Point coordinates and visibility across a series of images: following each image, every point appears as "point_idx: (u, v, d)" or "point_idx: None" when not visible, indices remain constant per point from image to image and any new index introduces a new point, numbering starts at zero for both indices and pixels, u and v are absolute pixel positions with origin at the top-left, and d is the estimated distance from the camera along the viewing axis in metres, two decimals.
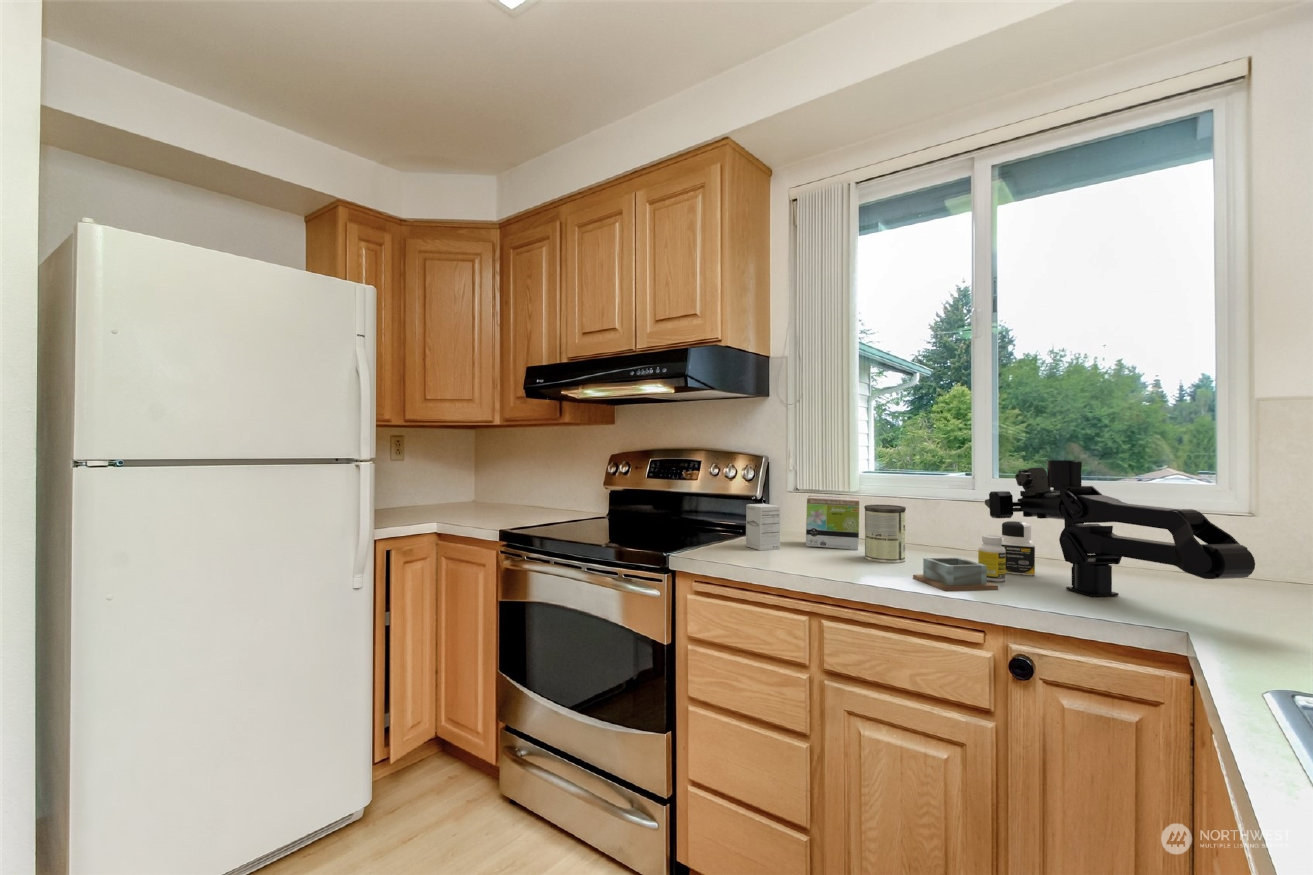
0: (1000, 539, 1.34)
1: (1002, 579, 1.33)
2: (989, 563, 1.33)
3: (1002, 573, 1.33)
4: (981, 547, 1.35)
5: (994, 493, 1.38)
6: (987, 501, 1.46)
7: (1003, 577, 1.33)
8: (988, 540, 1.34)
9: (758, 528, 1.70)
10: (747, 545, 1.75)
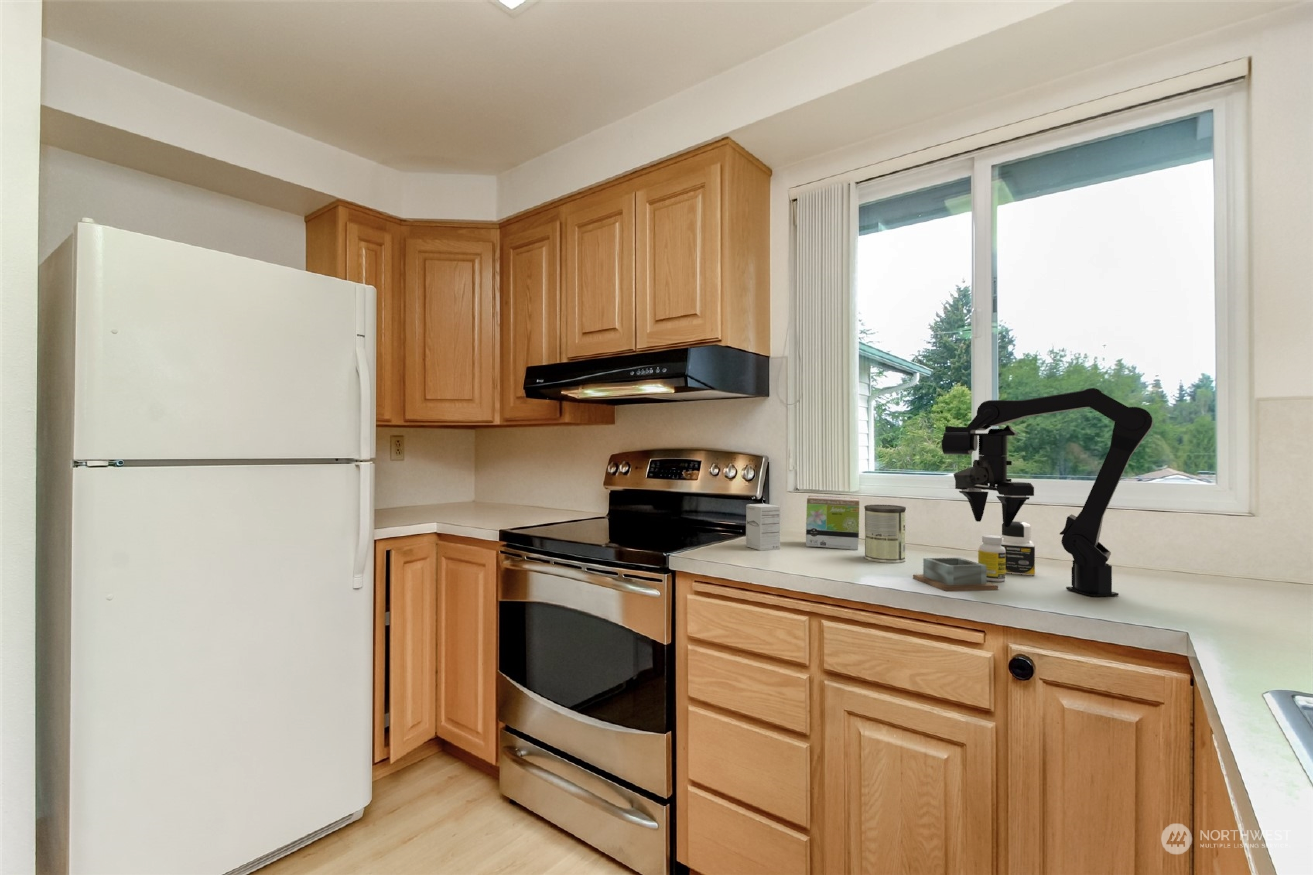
0: (1000, 539, 1.34)
1: (1002, 579, 1.33)
2: (989, 563, 1.33)
3: (1002, 573, 1.33)
4: (981, 547, 1.35)
5: (1010, 488, 1.26)
6: (1007, 520, 1.30)
7: (1003, 577, 1.33)
8: (988, 540, 1.34)
9: (758, 528, 1.70)
10: (747, 545, 1.75)
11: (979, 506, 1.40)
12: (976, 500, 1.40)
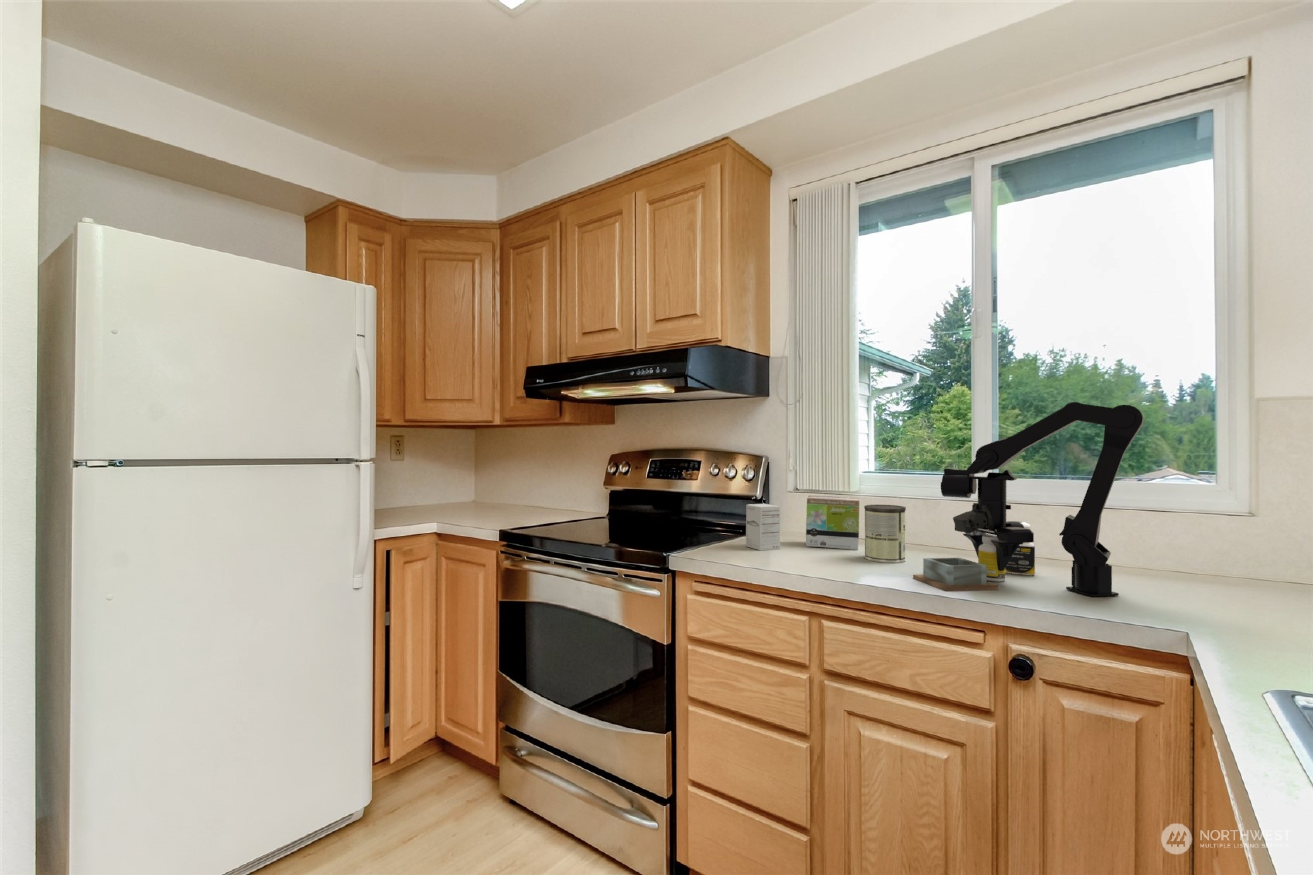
0: None
1: (1002, 579, 1.33)
2: (989, 563, 1.33)
3: (1002, 573, 1.33)
4: (981, 547, 1.35)
5: (1010, 535, 1.26)
6: (1001, 564, 1.32)
7: (1003, 577, 1.33)
8: (988, 540, 1.34)
9: (758, 528, 1.70)
10: (747, 545, 1.75)
11: None
12: (981, 544, 1.38)
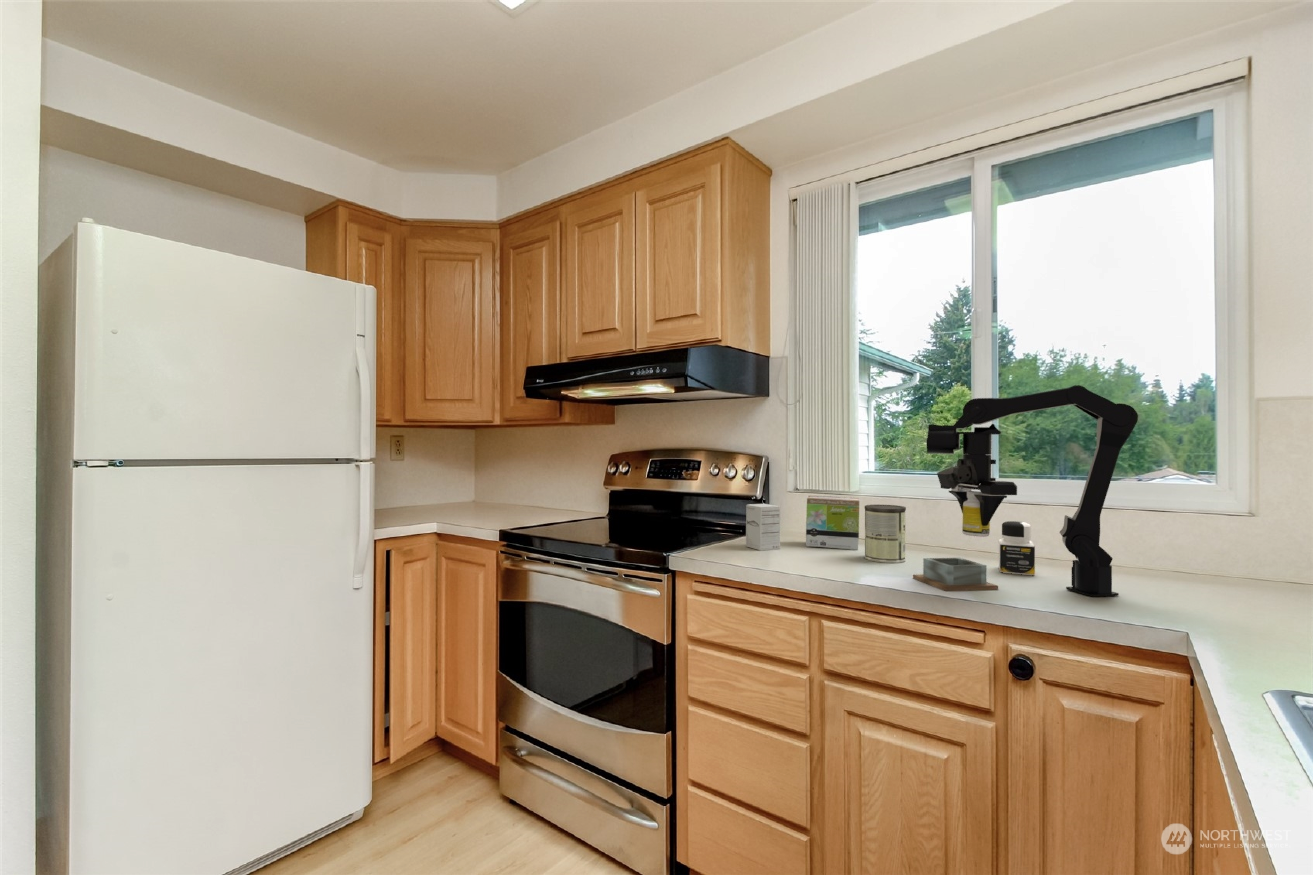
0: None
1: (986, 534, 1.31)
2: (973, 518, 1.32)
3: (985, 528, 1.31)
4: (965, 502, 1.34)
5: (992, 487, 1.25)
6: (985, 518, 1.30)
7: (987, 532, 1.32)
8: (972, 495, 1.33)
9: (758, 528, 1.70)
10: (747, 545, 1.75)
11: None
12: (966, 500, 1.37)
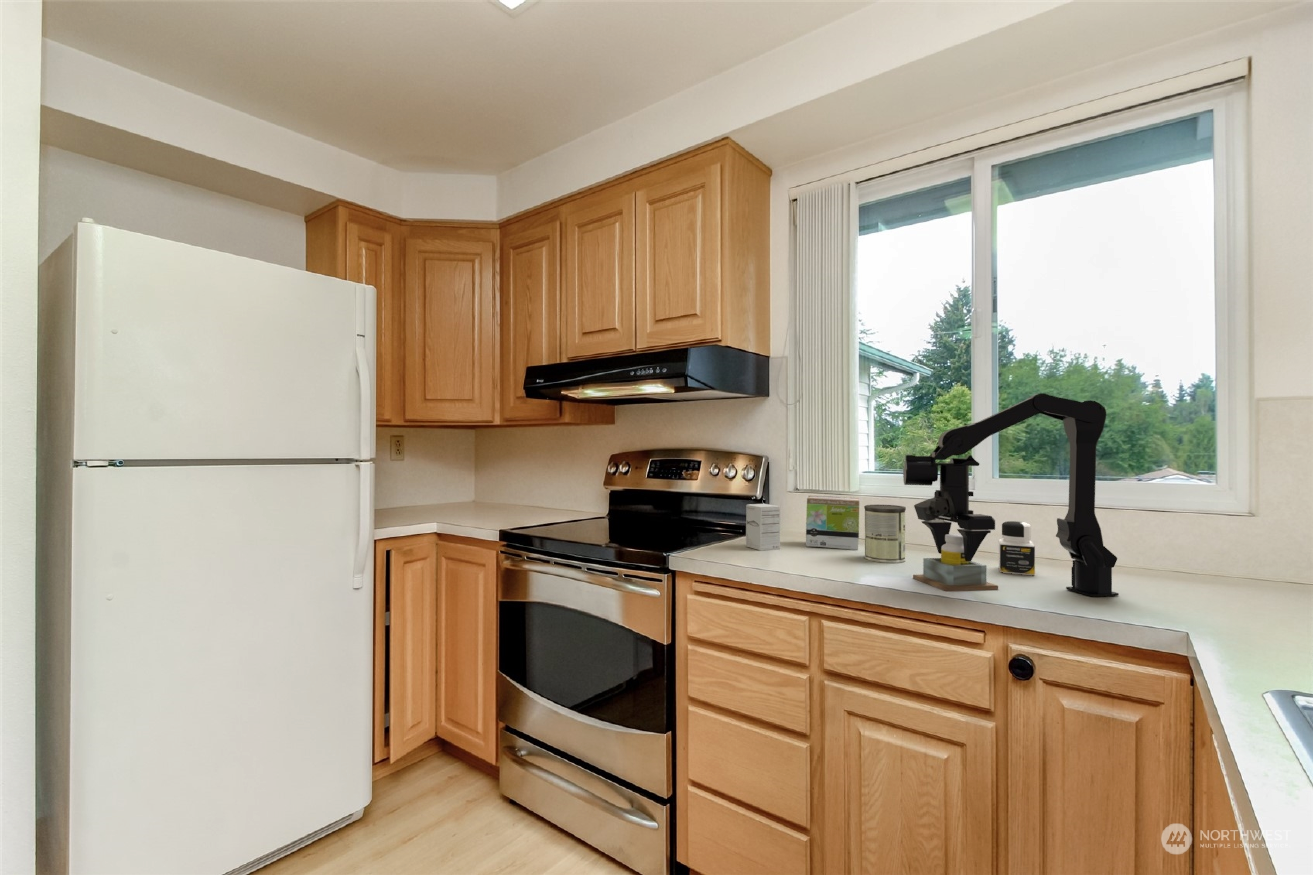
0: None
1: None
2: (951, 563, 1.28)
3: None
4: (944, 547, 1.30)
5: (970, 522, 1.21)
6: (969, 554, 1.25)
7: None
8: (950, 540, 1.29)
9: (758, 528, 1.70)
10: (747, 545, 1.75)
11: (942, 538, 1.35)
12: (939, 531, 1.36)
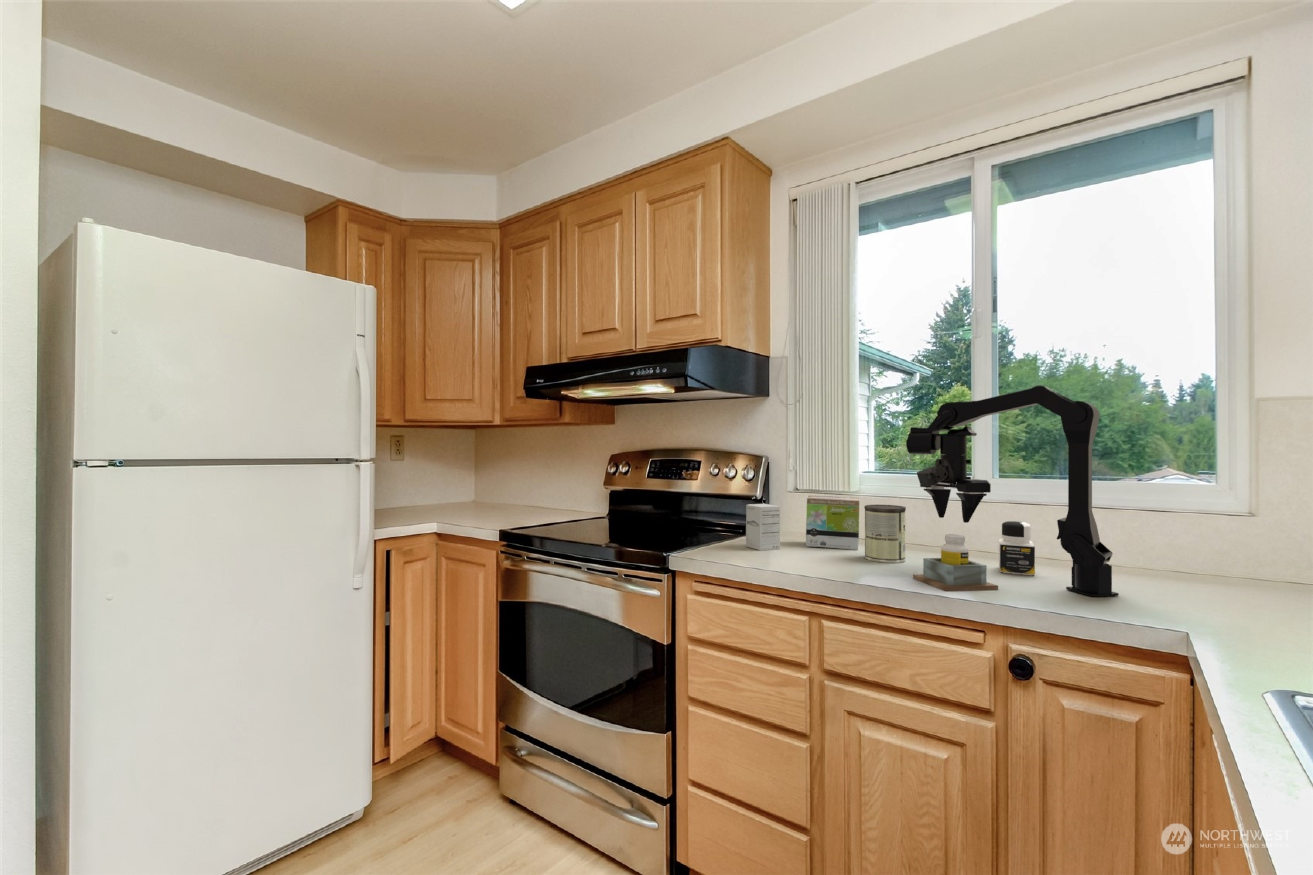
0: (963, 538, 1.29)
1: None
2: (951, 563, 1.28)
3: None
4: (943, 547, 1.30)
5: (968, 485, 1.33)
6: (966, 516, 1.38)
7: None
8: (950, 539, 1.29)
9: (758, 528, 1.70)
10: (747, 545, 1.75)
11: (942, 503, 1.47)
12: (939, 497, 1.48)
